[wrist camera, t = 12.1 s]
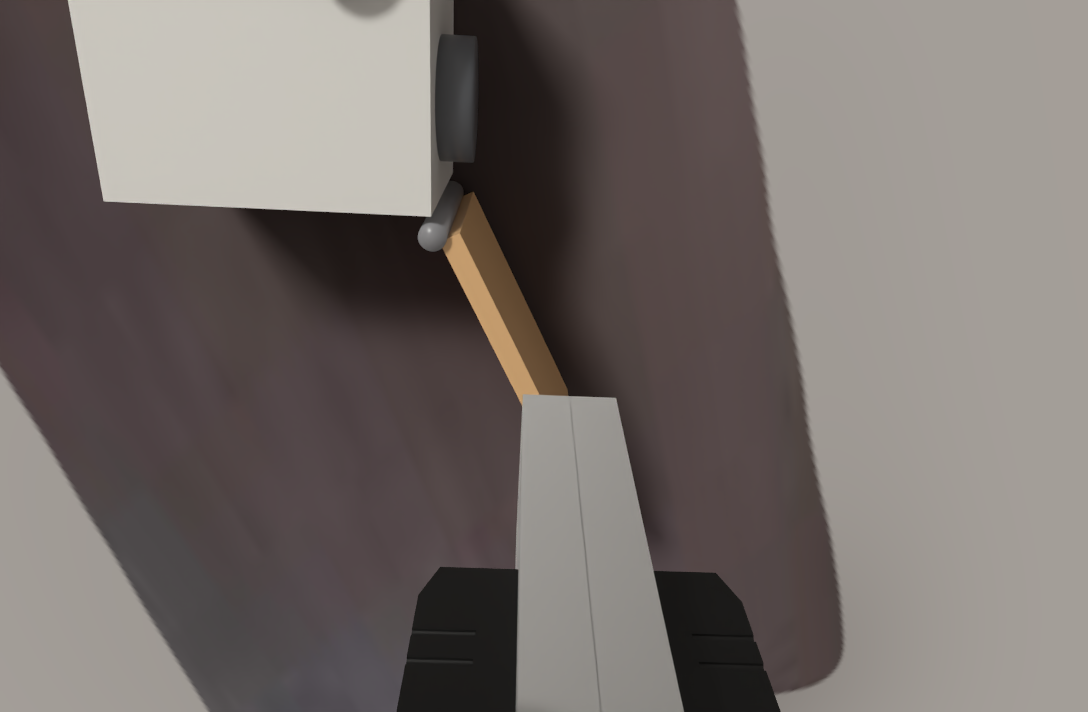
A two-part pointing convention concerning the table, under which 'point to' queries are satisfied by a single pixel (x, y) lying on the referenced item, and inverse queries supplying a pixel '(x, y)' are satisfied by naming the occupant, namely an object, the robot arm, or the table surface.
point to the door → (492, 291)
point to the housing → (278, 102)
